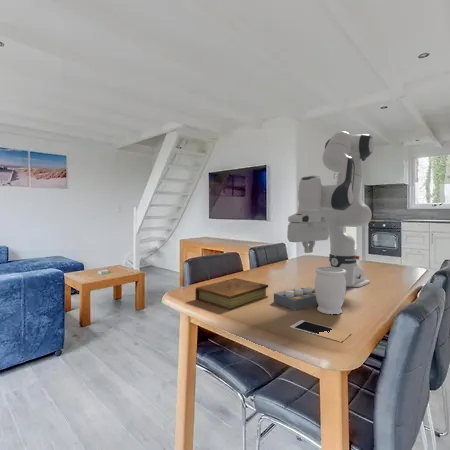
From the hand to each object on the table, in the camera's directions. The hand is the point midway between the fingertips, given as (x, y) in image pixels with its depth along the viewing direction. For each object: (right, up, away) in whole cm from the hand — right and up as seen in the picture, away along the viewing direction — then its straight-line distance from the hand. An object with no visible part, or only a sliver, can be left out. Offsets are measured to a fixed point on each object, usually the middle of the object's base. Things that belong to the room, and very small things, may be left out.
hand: (308, 252), depth 119 cm
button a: (-8, -17, -5) cm, 20 cm away
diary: (-30, -20, +3) cm, 36 cm away
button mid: (-4, -17, -2) cm, 18 cm away
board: (-4, -19, -2) cm, 20 cm away
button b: (0, -17, +1) cm, 17 cm away
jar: (+4, -20, -12) cm, 23 cm away
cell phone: (-5, -21, -29) cm, 36 cm away
